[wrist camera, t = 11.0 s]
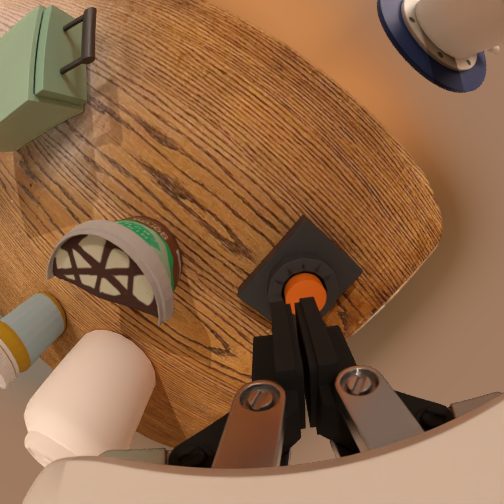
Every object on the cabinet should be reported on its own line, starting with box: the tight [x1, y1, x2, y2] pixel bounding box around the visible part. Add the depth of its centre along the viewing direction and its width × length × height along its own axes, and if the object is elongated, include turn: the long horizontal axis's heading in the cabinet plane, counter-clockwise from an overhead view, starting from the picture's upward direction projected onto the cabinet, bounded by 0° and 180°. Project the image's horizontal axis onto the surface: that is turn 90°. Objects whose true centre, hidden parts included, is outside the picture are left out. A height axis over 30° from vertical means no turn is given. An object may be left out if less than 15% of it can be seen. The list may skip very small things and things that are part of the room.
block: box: [237, 215, 363, 333], centre depth 26 cm, size 10×8×4 cm
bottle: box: [0, 292, 66, 389], centre depth 24 cm, size 7×7×15 cm
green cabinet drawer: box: [33, 5, 97, 105], centre depth 17 cm, size 17×11×8 cm
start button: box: [284, 273, 326, 315], centre depth 24 cm, size 4×4×2 cm
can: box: [24, 330, 156, 467], centre depth 24 cm, size 12×12×20 cm
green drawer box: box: [0, 5, 84, 152], centre depth 17 cm, size 14×13×10 cm
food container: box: [47, 216, 182, 326], centre depth 23 cm, size 12×6×10 cm, turn 74°
